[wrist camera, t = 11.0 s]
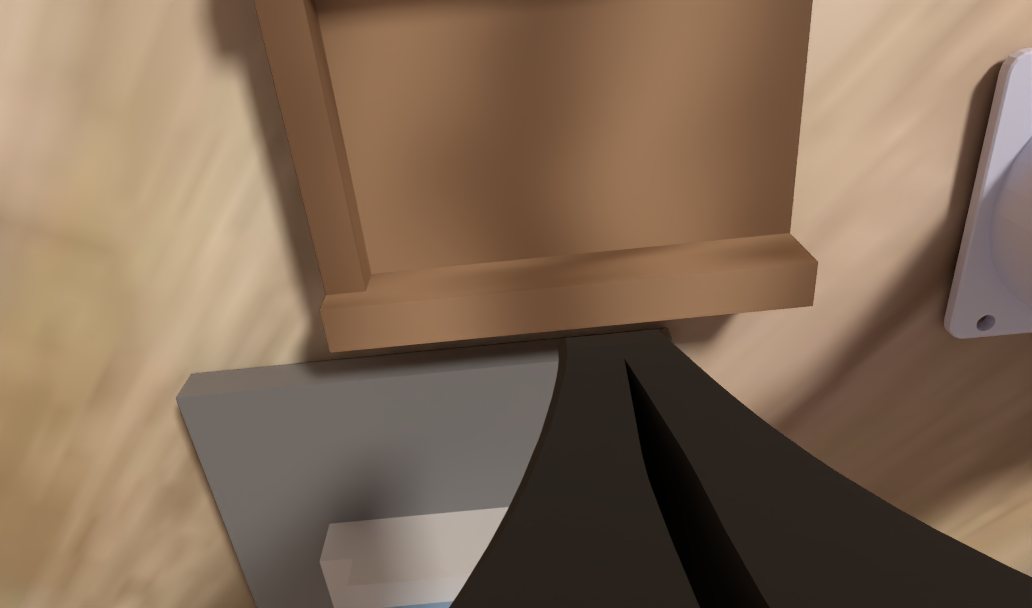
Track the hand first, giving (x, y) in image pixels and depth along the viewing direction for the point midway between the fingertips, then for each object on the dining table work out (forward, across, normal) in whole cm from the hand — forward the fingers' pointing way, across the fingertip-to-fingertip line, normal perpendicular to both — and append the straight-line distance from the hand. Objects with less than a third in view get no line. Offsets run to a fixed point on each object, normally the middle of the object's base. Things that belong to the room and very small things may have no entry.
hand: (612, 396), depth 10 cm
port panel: (+10, +4, +15) cm, 18 cm away
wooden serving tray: (+10, 0, -2) cm, 10 cm away
